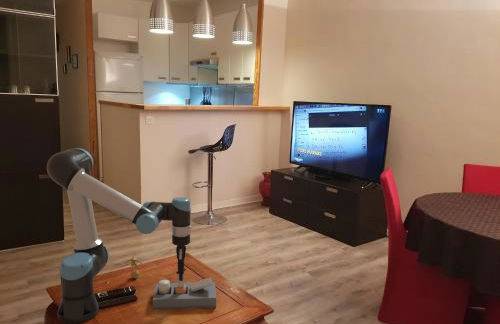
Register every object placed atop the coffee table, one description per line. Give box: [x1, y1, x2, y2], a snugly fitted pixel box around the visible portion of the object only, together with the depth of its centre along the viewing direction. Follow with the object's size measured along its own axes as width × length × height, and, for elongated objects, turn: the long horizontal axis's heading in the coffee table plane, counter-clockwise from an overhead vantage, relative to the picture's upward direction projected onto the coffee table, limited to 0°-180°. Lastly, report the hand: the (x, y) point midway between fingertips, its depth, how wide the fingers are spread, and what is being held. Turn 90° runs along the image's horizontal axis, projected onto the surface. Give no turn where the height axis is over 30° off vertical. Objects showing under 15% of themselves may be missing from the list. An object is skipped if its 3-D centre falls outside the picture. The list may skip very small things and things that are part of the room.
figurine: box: [125, 255, 144, 279], centre depth 188 cm, size 8×6×12 cm
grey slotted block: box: [152, 281, 217, 311], centre depth 172 cm, size 26×14×6 cm, turn 97°
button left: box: [158, 279, 171, 295], centre depth 170 cm, size 5×5×4 cm
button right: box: [175, 285, 186, 294], centre depth 171 cm, size 5×5×4 cm
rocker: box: [190, 276, 213, 292], centre depth 172 cm, size 9×6×2 cm, turn 97°
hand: (180, 286), depth 171 cm, fingers closed
